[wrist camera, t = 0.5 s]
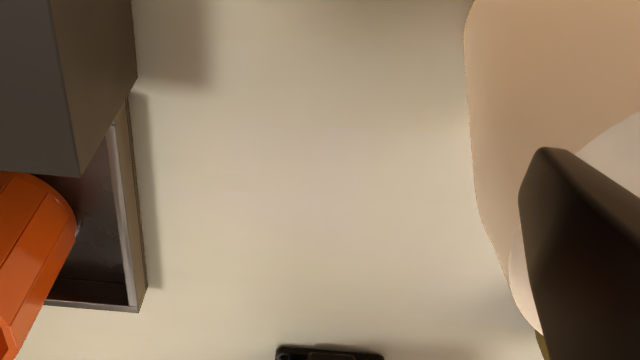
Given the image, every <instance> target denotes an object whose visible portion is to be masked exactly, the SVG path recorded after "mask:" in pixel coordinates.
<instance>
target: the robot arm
mask: <svg viewBox="0 0 640 360" xmlns="http://www.w3.org/2000/svg"><path fill="white" fill-rule="evenodd" d="M518 208H519V215H520V222H521V229H522V236H523V243H524V250H525V257H526V264H527V271H528V277H529V282H530V287H531V291H532V295H533V299H534V303H535V306H536V310H537V314H538V317H539V321H540V325H541V328H542V332H543V336H544V339H545V343H546V347H547V350H548V354H549V358H550V360H640V198H639V197H638V196H636V195H635V194H633V193H631V192H630V191H628V190H627V189H625V188H624V187H622V186H621V185H619V184H618V183H616V182H615V181H613V180H612V179H610V178H609V177H607V176H606V175H604V174H603V173H601V172H600V171H598V170H597V169H595V168H594V167H592V166H591V165H589V164H588V163H586V162H585V161H583V160H582V159H580V158H579V157H577V156H576V155H574V154H572V153H571V152H569V151H568V150H565V149H560V148H552V147H541V148H539V149H537V151H536V152H535V153H534V155H533V157H532V160H531V162H530V164H529V167H528V169H527V172H526V174H525V176H524V179H523V181H522V183H521V186H520V189H519V192H518ZM275 360H384V357H383V356H381V355H376V354H364V353H351V352H339V351H327V350H315V349H303V348H291V347H280V348H278V349H277V350H276V356H275Z"/></svg>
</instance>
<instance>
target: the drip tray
mask: <svg viewBox="0 0 640 360" xmlns="http://www.w3.org/2000/svg"><path fill="white" fill-rule="evenodd" d="M29 174H31V173H29ZM31 175H33V176H36V177H37V178H39V179H41V180H43V181H44V182H46V183H47V184H49V185H50V186H52V187H53V188H54V189H55V190H57V191H58V192H59V193H60V194H61V195H62V196H63V197H64V198H65V200H66V201H67V202H68V203H69V205H70V207H71V208H72V210H73V212H74V215H75V218H76V221H77V235H76V238H75V243H74V245H73V247H72V249H71V251H70V253H69V255H68V257H67V258H66V260H65V262H64V264H63V266H62V268H61V270H60V272H59V274H58V276H57V278H56V280H55V282H54V284H53V286H52V288H51V290H50V292H49V294H48V296H47V298H46V300H45V302H44V304H43V305H49V306H61V307H73V308H84V309H96V310H108V311H120V312H132V313H139V311H140V308H141V305H142V302H143V299H144V296H145V293H146V290H147V287H148V283H147V273H146V264H145V254H144V245H143V235H142V226H141V216H140V207H139V197H138V188H137V178H136V169H135V159H134V150H133V140H132V131H131V121H130V112H129V102H128V96H127V97H126V99H125V101H124V103H123V104H122V106H121V108H120V110H119V111H118V113H117V115H116V117H115V118H114V120H113V122H112V124H111V125H110V127H109V129H108V131H107V132H106V134H105V136H104V138H103V139H102V141H101V143H100V145H99V146H98V148H97V150H96V152H95V153H94V155H93V157H92V159H91V160H90V162H89V164H88V166H87V167H86V169H85V171H84V173H83V174H82V176H81V177H80V178H73V177H62V176H52V175H41V174H31Z"/></svg>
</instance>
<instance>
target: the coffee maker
mask: <svg viewBox="0 0 640 360" xmlns="http://www.w3.org/2000/svg"><path fill="white" fill-rule="evenodd" d="M137 78H138V74H137V63H136V53H135V42H134V31H133V20H132V9H131V0H0V171H10V172H20V173H31V174H41V175H52V176H62V177H73V178H80V177H81V176H82V174H83V173H84V171H85V169H86V167H87V166H88V164H89V162H90V160H91V159H92V157H93V155H94V153H95V152H96V150H97V148H98V146H99V145H100V143H101V141H102V139H103V138H104V136H105V134H106V132H107V131H108V129H109V127H110V125H111V124H112V122H113V120H114V118H115V117H116V115H117V113H118V111H119V110H120V108H121V106H122V104H123V103H124V101H125V99H126V97H127V96H128V94H129V92H130V90H131V89H132V87H133V85H134V83H135V82H136V80H137Z"/></svg>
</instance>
